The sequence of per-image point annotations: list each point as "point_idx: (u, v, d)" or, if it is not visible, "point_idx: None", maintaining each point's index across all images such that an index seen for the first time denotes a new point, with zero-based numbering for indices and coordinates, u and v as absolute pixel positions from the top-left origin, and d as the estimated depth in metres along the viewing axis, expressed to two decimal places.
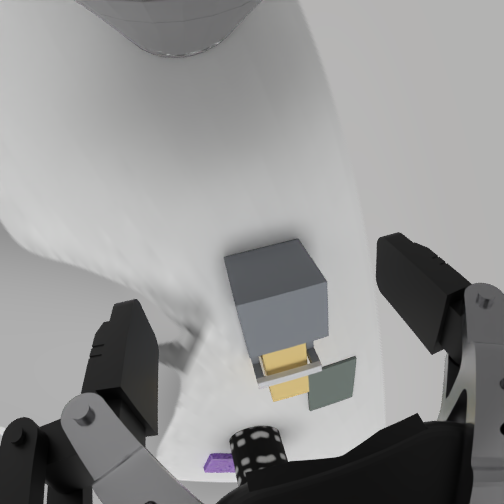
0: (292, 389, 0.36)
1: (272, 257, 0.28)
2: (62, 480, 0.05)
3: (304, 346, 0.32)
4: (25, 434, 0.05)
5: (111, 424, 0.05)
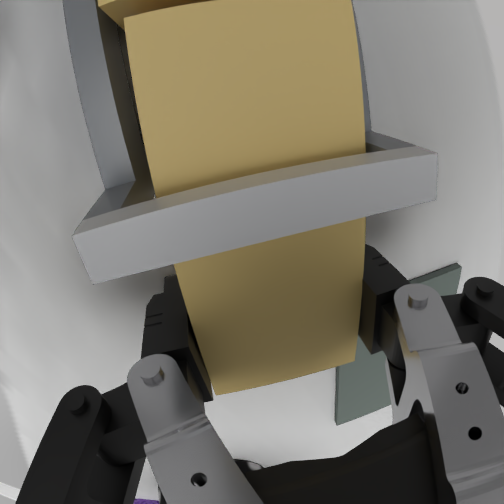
0: (293, 344, 0.09)
1: None
2: (114, 454, 0.06)
3: (352, 53, 0.05)
4: (87, 401, 0.06)
5: (179, 389, 0.06)
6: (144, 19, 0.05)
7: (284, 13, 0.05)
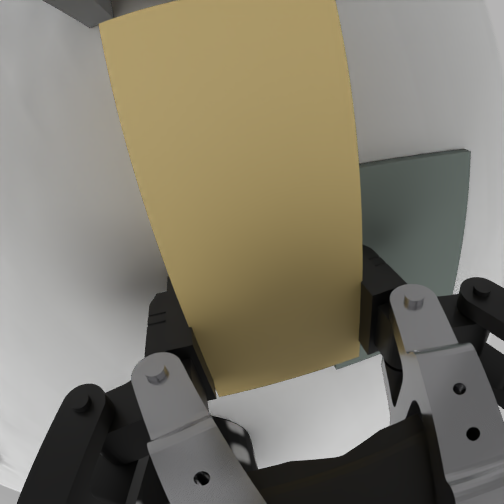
0: (294, 343, 0.09)
1: None
2: (118, 453, 0.06)
3: (336, 41, 0.05)
4: (91, 400, 0.06)
5: (183, 388, 0.06)
6: (119, 23, 0.04)
7: (261, 5, 0.05)
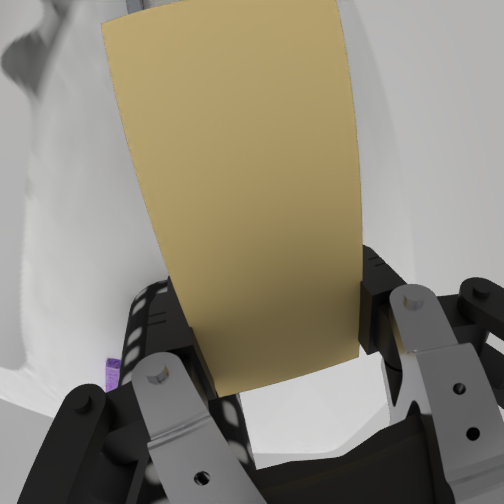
0: (294, 343, 0.09)
1: None
2: (118, 453, 0.06)
3: (337, 43, 0.05)
4: (91, 400, 0.06)
5: (183, 387, 0.06)
6: (121, 23, 0.04)
7: (263, 7, 0.05)
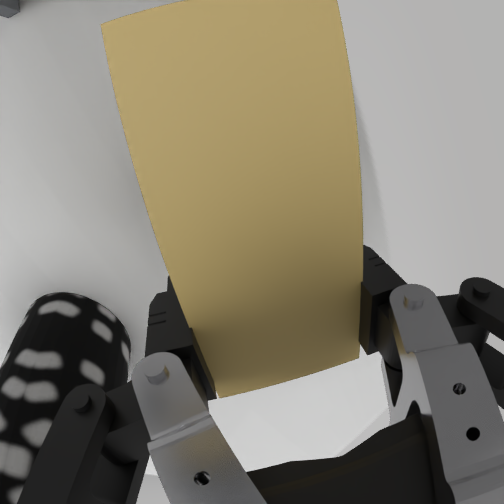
0: (295, 344, 0.09)
1: None
2: (118, 453, 0.06)
3: (338, 44, 0.05)
4: (91, 400, 0.06)
5: (183, 387, 0.06)
6: (121, 23, 0.04)
7: (264, 7, 0.05)
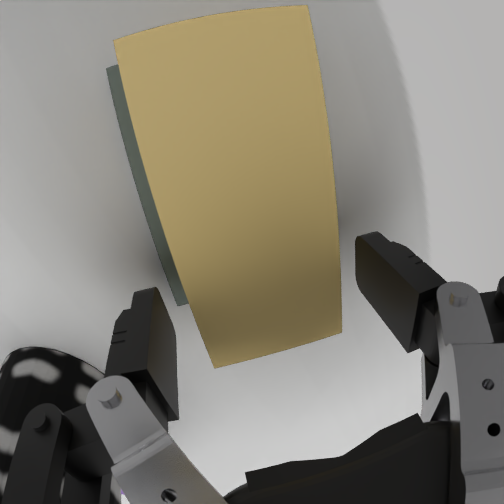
0: (281, 316, 0.10)
1: None
2: (82, 468, 0.05)
3: (310, 53, 0.06)
4: (48, 420, 0.05)
5: (137, 408, 0.06)
6: (130, 40, 0.06)
7: (247, 25, 0.06)
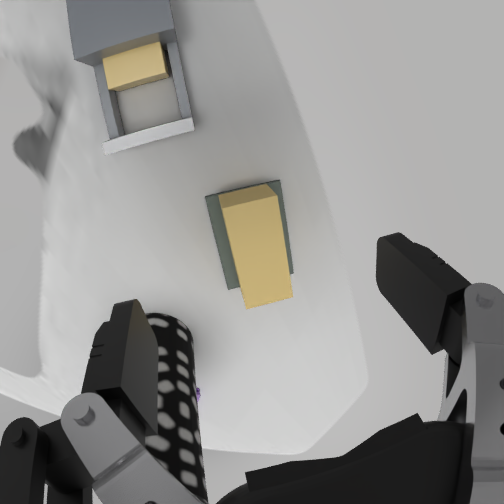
0: (270, 289, 0.30)
1: None
2: (62, 480, 0.05)
3: (277, 210, 0.26)
4: (25, 434, 0.05)
5: (111, 424, 0.05)
6: (227, 209, 0.26)
7: (259, 204, 0.26)
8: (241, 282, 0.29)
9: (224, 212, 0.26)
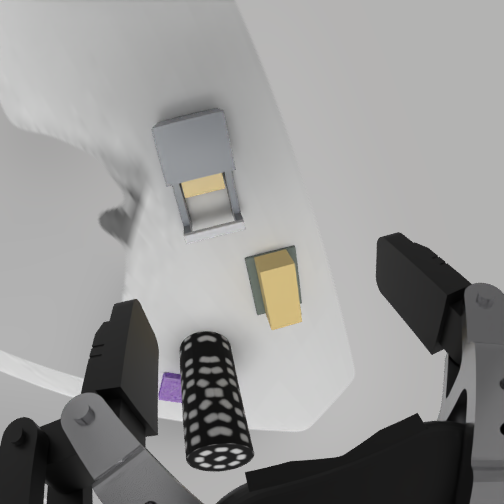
0: (287, 317, 0.45)
1: (192, 114, 0.33)
2: (62, 480, 0.05)
3: (294, 272, 0.42)
4: (25, 434, 0.05)
5: (111, 424, 0.05)
6: (263, 272, 0.41)
7: (283, 269, 0.41)
8: (269, 314, 0.44)
9: (261, 274, 0.41)
